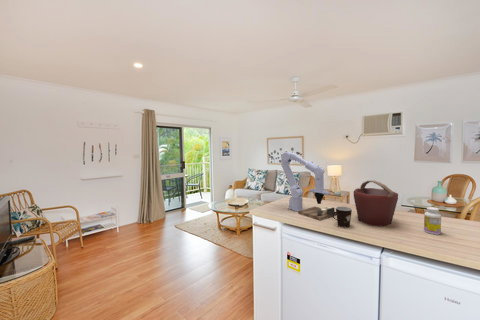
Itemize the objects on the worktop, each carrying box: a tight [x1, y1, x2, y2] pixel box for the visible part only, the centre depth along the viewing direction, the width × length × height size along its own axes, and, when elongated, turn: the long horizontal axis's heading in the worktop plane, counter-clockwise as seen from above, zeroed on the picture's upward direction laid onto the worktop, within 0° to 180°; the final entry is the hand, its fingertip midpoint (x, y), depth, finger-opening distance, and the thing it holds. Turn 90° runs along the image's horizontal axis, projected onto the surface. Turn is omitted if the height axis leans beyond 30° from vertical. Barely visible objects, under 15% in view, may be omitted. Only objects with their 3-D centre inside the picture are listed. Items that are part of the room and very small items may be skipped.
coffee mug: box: [332, 206, 353, 228], centre depth 126 cm, size 12×9×10 cm
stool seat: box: [297, 206, 337, 222], centre depth 147 cm, size 18×18×6 cm
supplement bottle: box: [423, 206, 442, 235], centre depth 112 cm, size 7×7×13 cm
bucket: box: [353, 180, 399, 227], centre depth 130 cm, size 24×22×25 cm
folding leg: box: [321, 206, 335, 215], centre depth 142 cm, size 12×3×3 cm, turn 123°
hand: (319, 203), depth 150 cm, fingers closed
